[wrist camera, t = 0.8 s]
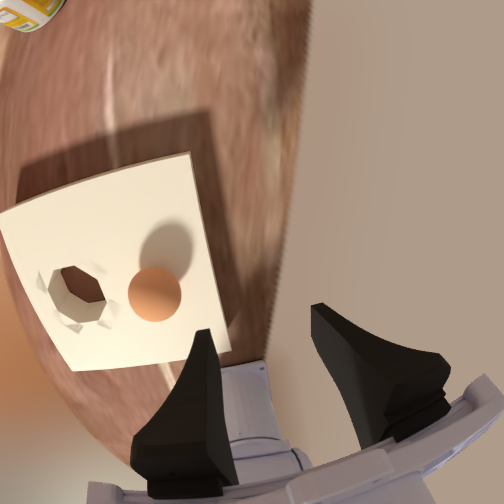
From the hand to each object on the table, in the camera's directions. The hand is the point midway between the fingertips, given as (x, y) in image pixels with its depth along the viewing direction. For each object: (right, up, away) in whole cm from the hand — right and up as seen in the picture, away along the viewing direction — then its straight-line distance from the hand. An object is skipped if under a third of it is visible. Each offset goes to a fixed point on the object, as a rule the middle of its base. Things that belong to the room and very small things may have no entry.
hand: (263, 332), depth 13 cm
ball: (-7, +1, +4) cm, 8 cm away
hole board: (-12, +2, +8) cm, 14 cm away
